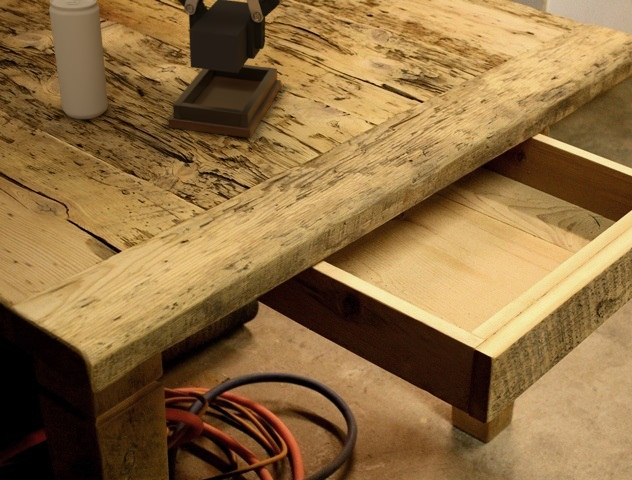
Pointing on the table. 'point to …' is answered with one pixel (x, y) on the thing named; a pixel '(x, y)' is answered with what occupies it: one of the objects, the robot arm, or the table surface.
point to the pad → (220, 37)
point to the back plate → (226, 101)
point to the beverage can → (79, 57)
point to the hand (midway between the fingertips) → (227, 49)
